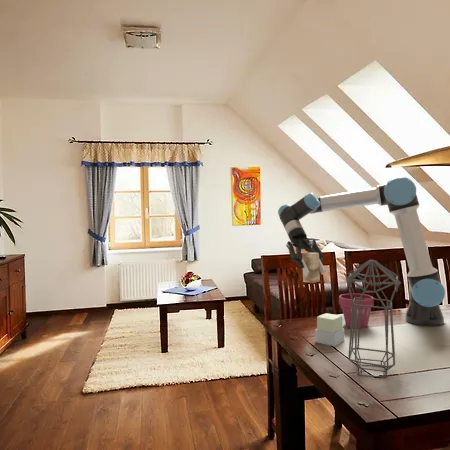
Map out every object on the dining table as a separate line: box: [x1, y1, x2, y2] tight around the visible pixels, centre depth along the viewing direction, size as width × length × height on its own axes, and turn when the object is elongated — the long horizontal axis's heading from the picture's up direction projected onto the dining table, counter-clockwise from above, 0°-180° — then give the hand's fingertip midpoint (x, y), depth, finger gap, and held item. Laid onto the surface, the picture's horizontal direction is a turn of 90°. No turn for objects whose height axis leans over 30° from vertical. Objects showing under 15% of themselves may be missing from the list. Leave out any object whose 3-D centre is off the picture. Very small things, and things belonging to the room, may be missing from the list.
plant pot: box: [338, 292, 375, 329], centre depth 166 cm, size 14×14×13 cm
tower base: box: [314, 327, 345, 347], centre depth 147 cm, size 8×8×5 cm
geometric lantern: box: [345, 259, 402, 379], centre depth 117 cm, size 16×16×35 cm
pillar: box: [301, 251, 321, 284], centre depth 158 cm, size 5×5×12 cm
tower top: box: [316, 312, 344, 333], centre depth 146 cm, size 7×7×5 cm
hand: (315, 273), depth 155 cm, fingers closed on pillar, 7 cm apart
